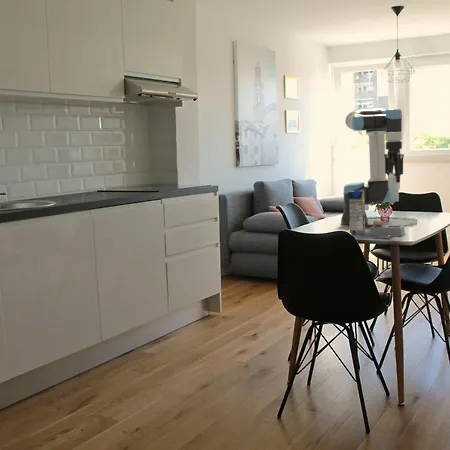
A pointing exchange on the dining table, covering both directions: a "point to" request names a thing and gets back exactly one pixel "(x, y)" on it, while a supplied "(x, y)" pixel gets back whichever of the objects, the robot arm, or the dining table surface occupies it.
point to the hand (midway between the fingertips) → (394, 188)
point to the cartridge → (393, 192)
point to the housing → (387, 230)
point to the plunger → (378, 223)
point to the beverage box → (357, 212)
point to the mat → (382, 236)
